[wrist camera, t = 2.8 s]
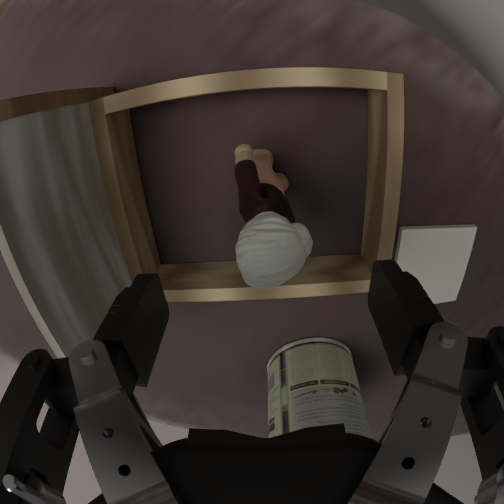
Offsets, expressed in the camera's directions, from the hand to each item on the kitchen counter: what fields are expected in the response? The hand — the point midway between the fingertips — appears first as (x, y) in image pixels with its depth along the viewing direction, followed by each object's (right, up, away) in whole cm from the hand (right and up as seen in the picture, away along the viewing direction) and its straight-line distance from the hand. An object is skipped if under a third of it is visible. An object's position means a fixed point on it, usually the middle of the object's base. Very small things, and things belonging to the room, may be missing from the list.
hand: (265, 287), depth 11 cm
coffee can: (+6, -12, +22) cm, 26 cm away
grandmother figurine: (+1, +7, +12) cm, 14 cm away
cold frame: (0, +7, +12) cm, 14 cm away
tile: (+17, 0, +15) cm, 23 cm away
